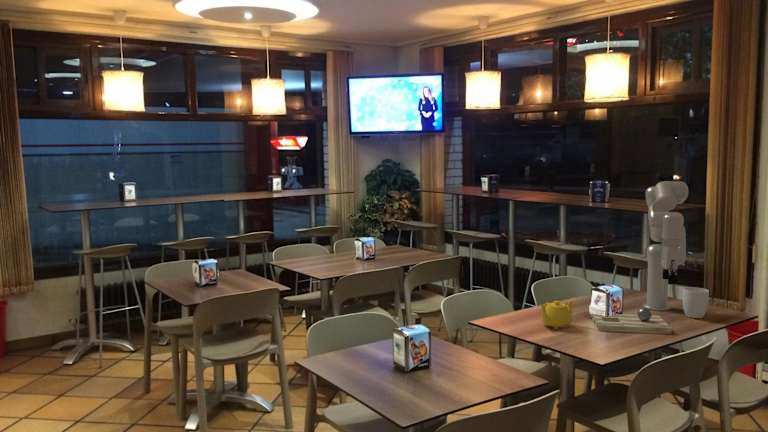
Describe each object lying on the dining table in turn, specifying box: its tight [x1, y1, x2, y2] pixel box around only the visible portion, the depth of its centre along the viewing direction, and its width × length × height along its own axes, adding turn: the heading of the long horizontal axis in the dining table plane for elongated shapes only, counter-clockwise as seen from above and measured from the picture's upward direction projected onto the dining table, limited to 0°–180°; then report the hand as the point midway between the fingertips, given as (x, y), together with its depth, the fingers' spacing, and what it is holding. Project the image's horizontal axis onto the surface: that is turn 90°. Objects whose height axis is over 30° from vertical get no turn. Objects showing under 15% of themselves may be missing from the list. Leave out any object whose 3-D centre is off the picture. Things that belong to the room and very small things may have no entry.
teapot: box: [540, 298, 574, 330], centre depth 291 cm, size 20×15×12 cm
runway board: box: [590, 312, 673, 335], centre depth 292 cm, size 20×30×2 cm, turn 81°
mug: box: [682, 286, 710, 319], centre depth 307 cm, size 15×11×13 cm
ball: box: [636, 307, 653, 321], centre depth 290 cm, size 6×6×6 cm
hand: (669, 281), depth 285 cm, fingers open, 9 cm apart
